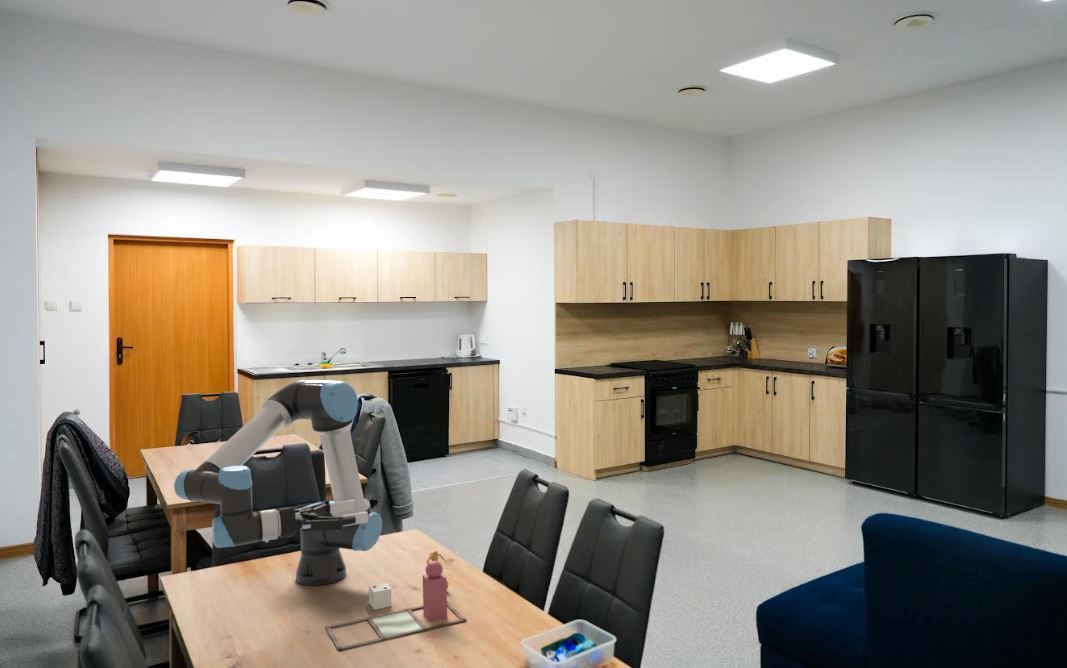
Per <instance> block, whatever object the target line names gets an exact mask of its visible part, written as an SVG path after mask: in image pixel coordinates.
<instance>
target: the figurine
mask: <svg viewBox="0 0 1067 668" xmlns="http://www.w3.org/2000/svg"><path fill="white" fill-rule="evenodd" d="M439 557H440V558H441V560H443V561H444V562H445V564H447V561H446V558H444V557H443V556H442V555H441V554H440V553H438V550H435V551H431V552H430V553H429V557H428V558H427V560H426V565H427V564H428V563H429V561H439ZM446 584H447V590H448V588H449V582H448V580H447V579H446Z"/></svg>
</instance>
